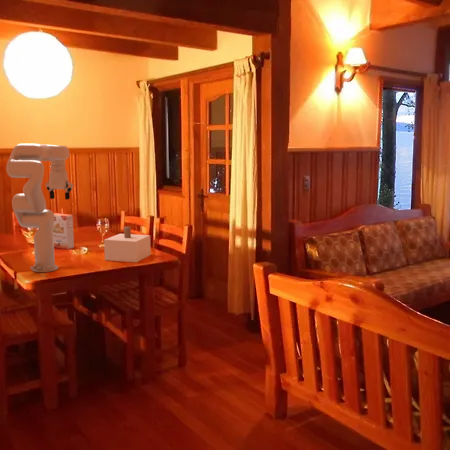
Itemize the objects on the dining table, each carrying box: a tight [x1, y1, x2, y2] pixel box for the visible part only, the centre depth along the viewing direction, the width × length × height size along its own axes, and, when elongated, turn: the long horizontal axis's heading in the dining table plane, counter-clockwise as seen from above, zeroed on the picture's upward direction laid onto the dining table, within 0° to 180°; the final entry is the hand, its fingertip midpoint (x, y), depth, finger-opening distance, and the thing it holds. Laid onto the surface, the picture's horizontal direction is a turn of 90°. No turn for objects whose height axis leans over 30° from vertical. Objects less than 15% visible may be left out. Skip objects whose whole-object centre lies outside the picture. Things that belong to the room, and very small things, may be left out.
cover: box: [103, 226, 152, 263], centre depth 297 cm, size 19×19×18 cm
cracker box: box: [53, 212, 75, 250], centre depth 323 cm, size 14×6×21 cm, turn 62°
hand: (59, 199), depth 295 cm, fingers open, 9 cm apart
